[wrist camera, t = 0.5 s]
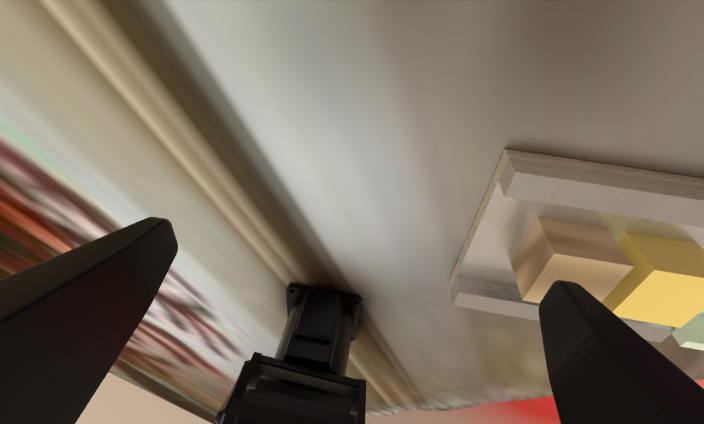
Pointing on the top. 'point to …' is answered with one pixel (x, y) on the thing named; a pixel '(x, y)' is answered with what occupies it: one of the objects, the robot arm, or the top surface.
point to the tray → (691, 333)
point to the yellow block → (659, 281)
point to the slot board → (568, 206)
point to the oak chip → (568, 259)
